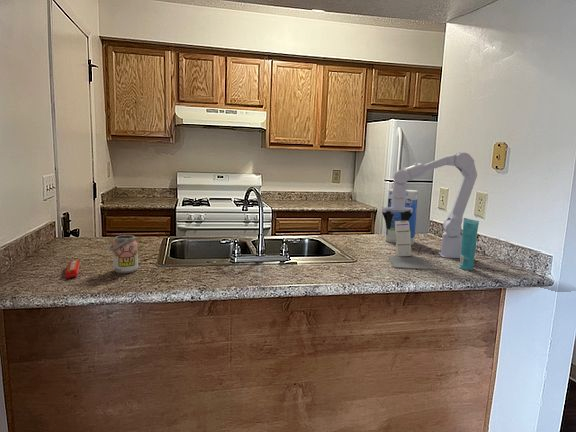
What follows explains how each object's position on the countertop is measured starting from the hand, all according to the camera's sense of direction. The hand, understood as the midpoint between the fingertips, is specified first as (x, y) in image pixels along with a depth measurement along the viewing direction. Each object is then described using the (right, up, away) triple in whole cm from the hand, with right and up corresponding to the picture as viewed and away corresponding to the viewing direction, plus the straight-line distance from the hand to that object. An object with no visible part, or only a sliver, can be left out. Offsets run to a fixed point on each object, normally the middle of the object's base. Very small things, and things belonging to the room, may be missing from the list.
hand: (395, 228), depth 178 cm
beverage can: (-105, -14, -36) cm, 112 cm away
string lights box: (+8, -8, +22) cm, 24 cm away
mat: (+1, -13, -17) cm, 22 cm away
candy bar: (-121, -14, -40) cm, 128 cm away
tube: (+21, -15, -22) cm, 34 cm away
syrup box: (+2, -11, -5) cm, 13 cm away
